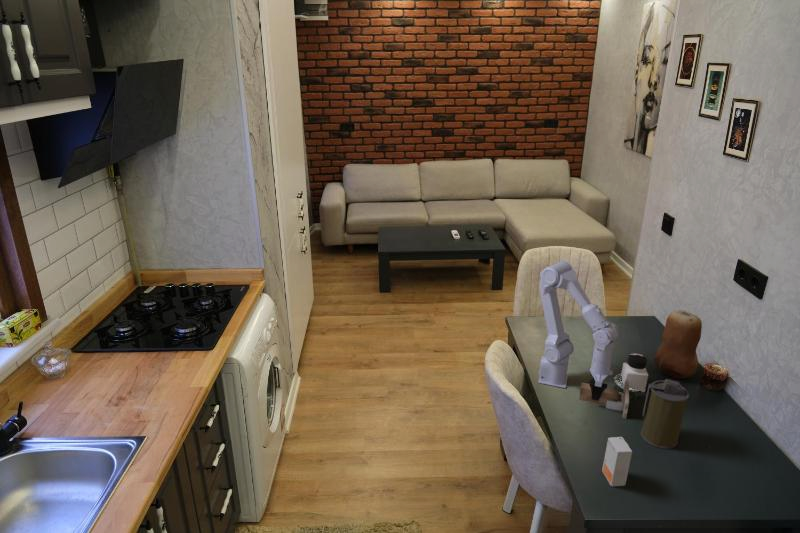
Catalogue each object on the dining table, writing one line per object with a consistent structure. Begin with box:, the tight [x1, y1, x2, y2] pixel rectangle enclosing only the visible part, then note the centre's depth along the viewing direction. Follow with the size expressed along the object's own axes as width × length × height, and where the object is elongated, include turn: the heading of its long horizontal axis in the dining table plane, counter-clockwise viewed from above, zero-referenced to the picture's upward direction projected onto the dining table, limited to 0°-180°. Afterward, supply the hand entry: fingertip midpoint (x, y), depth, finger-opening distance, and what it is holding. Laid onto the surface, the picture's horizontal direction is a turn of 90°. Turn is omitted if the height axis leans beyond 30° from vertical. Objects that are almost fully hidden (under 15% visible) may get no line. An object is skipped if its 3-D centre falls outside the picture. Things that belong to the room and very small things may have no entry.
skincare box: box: [601, 436, 633, 487], centre depth 147 cm, size 6×4×12 cm
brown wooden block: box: [578, 382, 620, 406], centre depth 181 cm, size 12×3×5 cm, turn 69°
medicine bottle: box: [620, 352, 649, 393], centre depth 188 cm, size 7×7×12 cm
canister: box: [640, 378, 690, 450], centre depth 161 cm, size 11×10×20 cm
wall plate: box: [622, 380, 630, 420], centre depth 178 cm, size 1×14×6 cm, turn 158°
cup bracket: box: [605, 391, 624, 412], centre depth 180 cm, size 5×7×3 cm
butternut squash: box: [653, 309, 703, 380], centre depth 193 cm, size 14×13×25 cm
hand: (595, 393), depth 182 cm, fingers open, 7 cm apart
